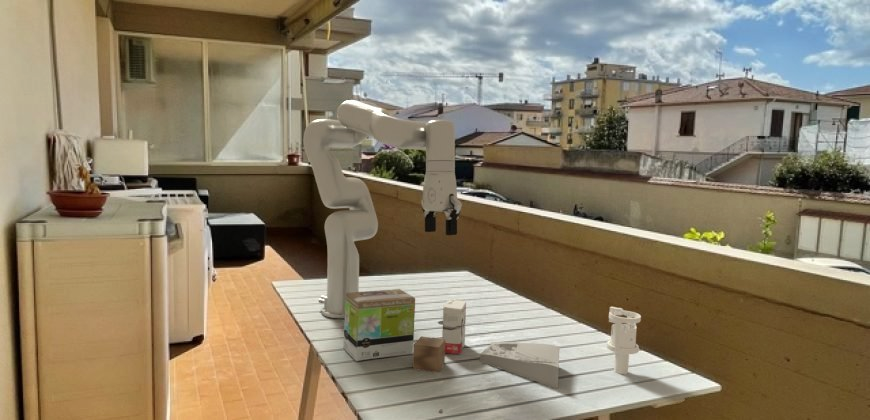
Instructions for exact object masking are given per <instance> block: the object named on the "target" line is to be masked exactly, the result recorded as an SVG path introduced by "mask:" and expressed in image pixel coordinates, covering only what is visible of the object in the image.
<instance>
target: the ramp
mask: <svg viewBox="0 0 870 420" xmlns="http://www.w3.org/2000/svg"><path fill="white" fill-rule="evenodd" d="M479 362H481V363H484V364H487V365H489V366H492V367H495V368H498V369H501V370H504V371H506V372H509V373H512V374H515V375H518V376H520V377H524V378H527V379H529V380H531V381H535V382H537V383H540V384H543V385H545V386H549V387H551V388H554V389H558V388H559V369H560V346H557V345H555V344H549V343H548V344H547V343H536V342H535V343H533V342H532V343H530V342H529V343H527V342H516V341H515V342H513V341H511V342H510V341H503V342H500V341H499V342H497V341H496V342H492V343H490V344H489V346H487V347H486V348H485V349H484V350H483V351H482V352H481V353H479Z"/></svg>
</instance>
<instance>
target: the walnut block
mask: <svg viewBox="0 0 870 420" xmlns="http://www.w3.org/2000/svg"><path fill="white" fill-rule="evenodd" d="M412 357H413V359H412V361H413V363H412V367H413V368H412V370H415V371H416V370H417V371H422V372H423V371H425V372H432V373H439V372H440V371H441V369H442V368H443V366H444V365H445V362H446V361H445V359H446V353H445V339H442V338H439V337H438V338H436V337H428V336H420V337H419V338H417V340H416V341H415V343H413V356H412Z"/></svg>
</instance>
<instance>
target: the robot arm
mask: <svg viewBox="0 0 870 420" xmlns="http://www.w3.org/2000/svg"><path fill="white" fill-rule="evenodd" d="M336 117H337V119H329V118H320V119H315V120H312V121H311V122H309V123H308V124H307V126H306V127H305V129H304V132H303V143H302V144H303V148H304V151H305V155H306V157H307V159H308V161H309V162H308V163H310V166H311V168H312V171H313V175H314V178H315V183H316V185H317V189H318V194H319V196H320V199H321V201H322V203H323V205H324V206H325V207H326V208H329V209H347V210H340V211H339V210H338V211H334V212H333V213H331V214H330V215H328V216H327V218H326V219H325V222H324V233H325V234H324V235H325V239H326V245H327V249H326V250H327V251H326V252H327V271H326V273H327V278H326V281H327V282H326V283H327V284H326V285H327V286H326V295H321V296H320V298H318V303H319V304H324V305H323V307H322V309H321V315H322V316H324V317H326V318H331V319H345V302H346V293H350V292H360V291H359V286H360V285H359V284H360V283H359V282H360V281H359V280H360V279H359V278H360V254H359V252H358V251H359V250H358V249H357V247H356V244H355V242H357V241H363V240H364V241H365V240H369V239H372V238H374V237H375V235H376V234H377V232H378V228H379V220H378V217H377V213H376V210H375V206H374V202H373V201H372V200H373V199H372V196H371V193H370V190H369V187H368V186H367V184H366V183H365V182H364V181H363V180H361V179H360V178H358V177H346V176H345V175H344V172H343V170H342V166H341V164H340V161H339V159H338V158H337V157H336V155H335V154H334V153H333V152H332V151H331V149H330V148H334V149H335V148H339V149H351V148H354V147H356V146H358V145H359V144H361V143H362V142H363V141H365V140H366V139H367V138H368V137H372V138H374V140H376V141H377V142H379V143H381V144H383V145H388V146H390V147H393V148H397V149H403V150H419V151H420V150H423V151H424V150H425V174H424V178H423V179H424V180H423V188H422V199H420V203H421V209H422V212H423V218H424V232H425V233H433V232H436V230H437V225H436V223H437V222H436V219H437V218H436V216H435V215H436V213H442V212H443V213H444V215H445V217H446V219H445V236H456V235H457V234H458V219H460V218H459V216H460V214H461V211H462V207H463V204H462V203H463V202H461V201H460V200H459V199H458V189H457V188H458V187H457V179H456V173H455V172H456V171H455V170H456V169H455V168H456V165H455V164H456V159H455V158H456V157H455V156H456V155H455V154H456V150H455V149H456V145H455V144H456V143H455V141H456V140H455V139H456V137H455V136H456V135H455V134H456V133H455V132H456V128H455V123H454V122H453V121H451V120H447V119H433V120H429V121H428V122H427V121H421V120H420V121H419V120H410V119H401V118H399V117H394V116H392V115H391V114H390V112H389V111H388V110H387V109H386V108H382V107H380V106H379V105H378V104H377V103H374V102H370V101H362V100H359V99H358V100H356V99H349V100H345V101H343V102H342V103H340V105H339V106H338V108H337V111H336ZM348 209H349V210H348Z"/></svg>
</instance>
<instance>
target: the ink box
mask: <svg viewBox="0 0 870 420" xmlns="http://www.w3.org/2000/svg"><path fill="white" fill-rule="evenodd" d="M442 310H443V311H442V313H443V314H442V330H441V331H442V332H441V333H442V335H441V339H445V354H453V355H461V352H462V350H463V349H464V346H465V343H466V342H465V340H466V321H467V320H466V319H467V315H466V314H467V301H463V300H456V299H448V300H447V301H446V302H445V304H443V309H442Z"/></svg>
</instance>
